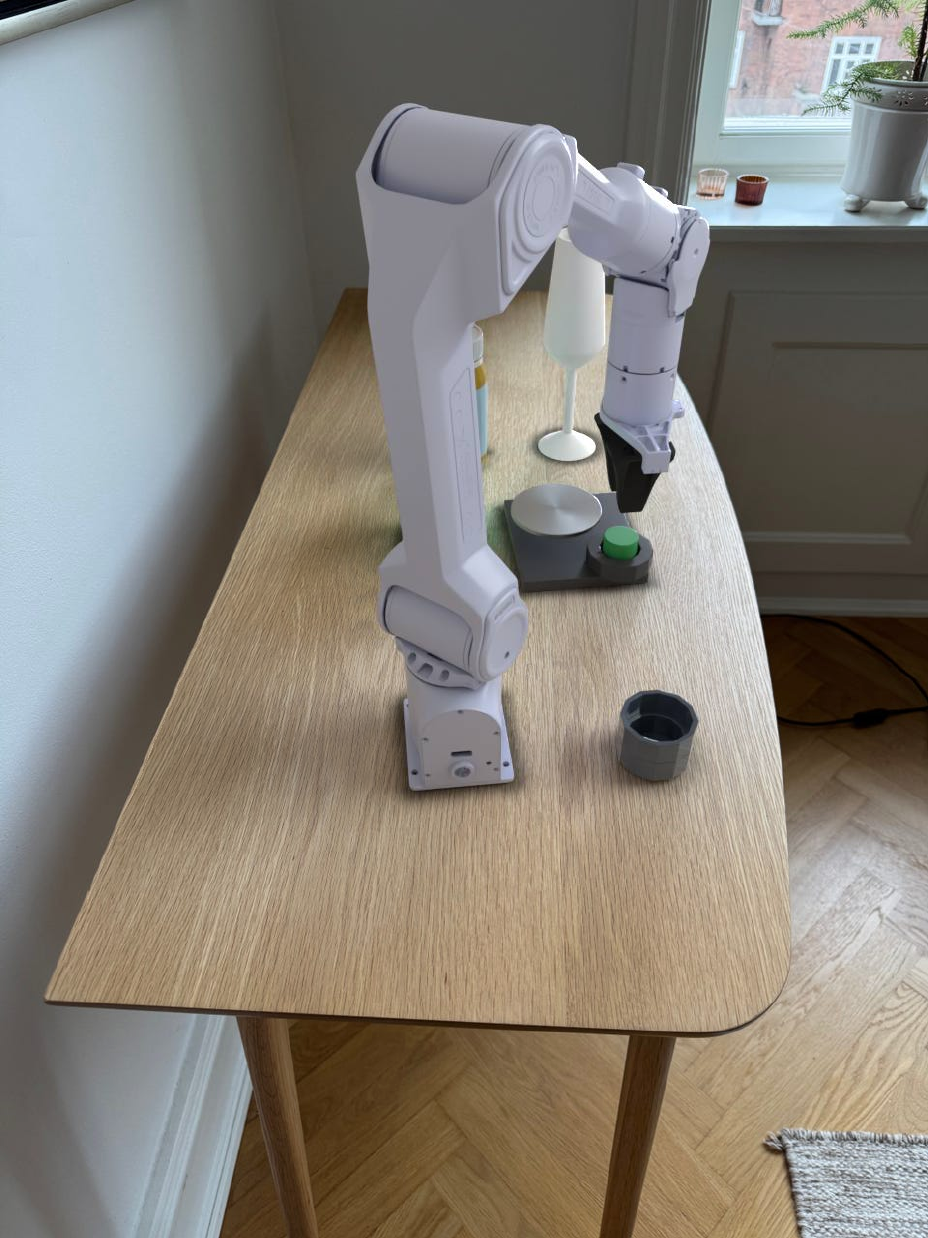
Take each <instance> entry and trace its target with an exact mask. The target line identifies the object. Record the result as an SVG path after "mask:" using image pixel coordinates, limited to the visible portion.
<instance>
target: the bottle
mask: <svg viewBox="0 0 928 1238" xmlns="http://www.w3.org/2000/svg"><path fill="white" fill-rule="evenodd" d="M472 346H473V360H474V373H475V387H476V400H477V414H478V427H479V441H480V454H481V463H482V462H483V461H485V459H486V457H487V455H488V372H487V369H486V367H485V364H484V353H483V352H484V332H483V329H482V328H481V327H480V326H479V325H477V324H476V323H475V324H474V325H473V328H472Z"/></svg>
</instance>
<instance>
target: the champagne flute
mask: <svg viewBox="0 0 928 1238" xmlns="http://www.w3.org/2000/svg"><path fill="white" fill-rule="evenodd" d="M551 265H552V267H551V274H550V280H549V286H548V287H549V288H548V295H547V302H546V310H545V318H544V322H543V323H544V324H543V332H542V344H543V346H544V349H545V351H546V352H547V354H548V355H549V356H550V358H551V359H552V360H553V361H555V362H556V363H557V364H558V365H559V366H560V367H561V368H563V369H565V385H564V402H563V418H562V419H563V420H562V430H557V431H554V432H551V433H548V434H546V435H543V437H541V438H540V439H539V441H538V443H537V447H538V450H539V451H540V453H542V455H544V456H545V457H548V458H550V459H552V460H556V461H563V462H574V461H575V462H576V461H581V460H584V459H586V458H588V457H590V456H591V455H593V454H594V452H595V450H596V443H595V441H594V440H593V439H592V438H590V437H589V436H587V435H585V434H583V433H580V432H577V431H575V430H574V418H575V404H576V390H577V376H578V370H580V369H582V368H583V367H585V366H586V365H587V364H589V363H590V362H592V361H593V360H594V359H596V357H597V356H599V354H600V353H601V351H602V349H603V348H604V346H605V343H606V275H605V273H604V271H603V268H602V263H600V262H597V261H596V260H594V259H592V258H589V257H587V256H586V255H584V254H582V253H581V252H580V251H579V250H578V249H577V248H576V247H575V246H574V245H573V243H572V241H571V239H570V237H569V234H568V229H567V227H564V228H563V229H562V230H561V231H560V233H559V235H558V236H557V238H556V239H555V244H554V252H553V258H552V264H551Z"/></svg>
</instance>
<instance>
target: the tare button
mask: <svg viewBox="0 0 928 1238" xmlns="http://www.w3.org/2000/svg"><path fill="white" fill-rule="evenodd" d="M638 539H639V536H638V534H637V531H636V530H635V529H633V528H631V527H630V528H629V527H625V526H615V527H611V528H609V529H608V530H606V532H605V534H604V543H603V552H604V553H605V555H606V556H608V557H610V558H614V559H618V560H623V559H631V558H633V557H634V556H635V555H636V553H637V547H638Z"/></svg>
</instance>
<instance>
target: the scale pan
mask: <svg viewBox="0 0 928 1238" xmlns="http://www.w3.org/2000/svg"><path fill="white" fill-rule="evenodd" d="M592 494H593V493H591V492H589V491H587V490H585V489H584V488H581V487H579V486H576V485H575V486H574V485H570V484H564V483H543V484H537V485H534V486H531V487H528V488H526V489H524V490H522V491H520V492H519V493H518V494H517V495H516V496H515V497H514V498H513V499H512V500H513V502H512V505H511V515H512V518H513V520H514V521H515V523H516V524H517V525H518V526H519V527H520V528H522V529H523V530H525V531H527V532H529V533H531V534H534V535H537V536H540V537H545V538H554V539H563V538H572V537H576V536H580V535H583V534H585V533H587V532H589V531H591V530H592V529H593V528H595V527H596V526H597V524H598V523H599V521H600V519H601V515H602V508H601V505H600V503H599V501H598V500H597V498H596V497H594V496H593V495H592Z"/></svg>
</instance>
